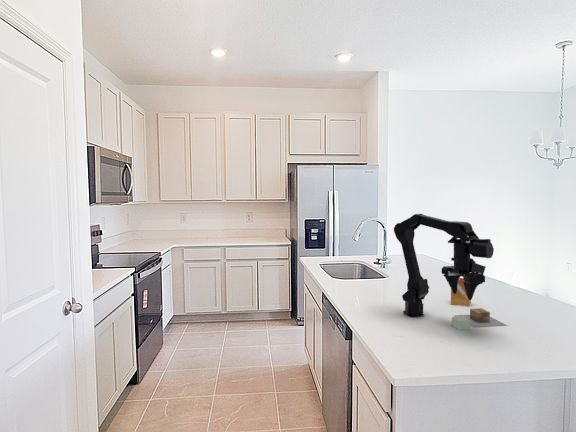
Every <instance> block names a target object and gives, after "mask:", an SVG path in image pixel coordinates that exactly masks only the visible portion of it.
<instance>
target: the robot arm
mask: <svg viewBox="0 0 576 432" xmlns="http://www.w3.org/2000/svg"><path fill="white" fill-rule="evenodd" d="M420 226H425V227H429V228H433V229H436V230H439V231H443V232H445V233H446V234H448V235H449V236H451V238H450V239H449V240H447V243H448V244H453V257H451V258H450V260H451V262H452V261H453V265H447V266H446V265H444V266H442V267H441V274H442V275H443V277H444V278H445V280H446V281H447V284H448V285H449V287H450V290H451V289H452V291H453V293H454V294H456V293H457V285H458V279H459V278H460V276H462V277H463V279H464V281H466V282H463V283H464V287H465V290H466V294H467V297H468V300H471V301H472V299H473V296H474V294H475V292H476V289H477V287H478V286H479V285H483V283H486V276H485V275H484V274H485V270H486V266H485V265H482V264H479V263H476V261H475V260H474V259H473V258H471V256H472V257H474V258H483V259H491V258H492V257H493V255H494V249H495V248H494V245H493V243H492V242H491V241H492V240H491V239H490V238H482V239H481V238H480V237H479V236H478V235H477V233H476V232H475V231H474V230H473V226H472V225H471V223H470V222H467V221H455V220H454V221H451V220H445V219H442V218H438V217H433V216H431V215H425V214H424V213H415V214H413V215H411V216H410V217H409V218H406V219H405V220H403V221H401V222H397V223H396V224H395V225H394V227H393V232H394V236H395V237H396V239H397V241H398V242H399V243H400V245H401V249H402V253H403V257H404V263H405V266H406V271H407V275H408V280H407V284H406V285H407V286H406V287H407V291H406V292H404V293H403V294H402V295H401V297H402V301H404V310H403V311H402V312H403V313H404V314H405V315H406V316H408V317H410V318H411V317H412V318H413V317H424V316H425V314H424V303H423V300H425V297H426V296H427V295H428V294H429V289H430V285H429V283H428V282H429V281H428V278H423V276H422V275H421V271H420V266H419V263H418V259H417V253H416V250H415V244H414V239H415V231H416V229H418V228H419V227H420Z"/></svg>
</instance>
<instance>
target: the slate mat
mask: <svg viewBox="0 0 576 432" xmlns="http://www.w3.org/2000/svg"><path fill="white" fill-rule="evenodd" d="M459 316H463V317H465V318H467V319H469V320H470V327H472V328H474V329H475V328H479V329H480V328H493V327H494V328H495V327H496V328H497V327H508V326H509V325H508V324H506V323H504V322H502V321H500V320H498V319H495V318H493V317H492V316H490V322H484V323H477V322H475V321H473V320H472V319H470V314H454V315H453V316H452V317H459Z"/></svg>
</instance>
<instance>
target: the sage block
mask: <svg viewBox="0 0 576 432" xmlns="http://www.w3.org/2000/svg"><path fill="white" fill-rule="evenodd" d="M451 327H453V328H454V329H456V330H458V331H466V330H471V326H470V320H469V319H467V318H465V317H463V316H459V317H455V316H452V317H451Z"/></svg>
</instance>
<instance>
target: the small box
mask: <svg viewBox="0 0 576 432" xmlns="http://www.w3.org/2000/svg"><path fill="white" fill-rule="evenodd" d="M463 282H466V281H464V279H463V277H462V276H460V278H459V279H458V285H457V293H456V294H454V293H453V291H452V289H451V288H450V305H453V306H463V307H464V306H465V307H471V303H472V300H468V297H467V294H466V290H465V287H464V283H463Z"/></svg>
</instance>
